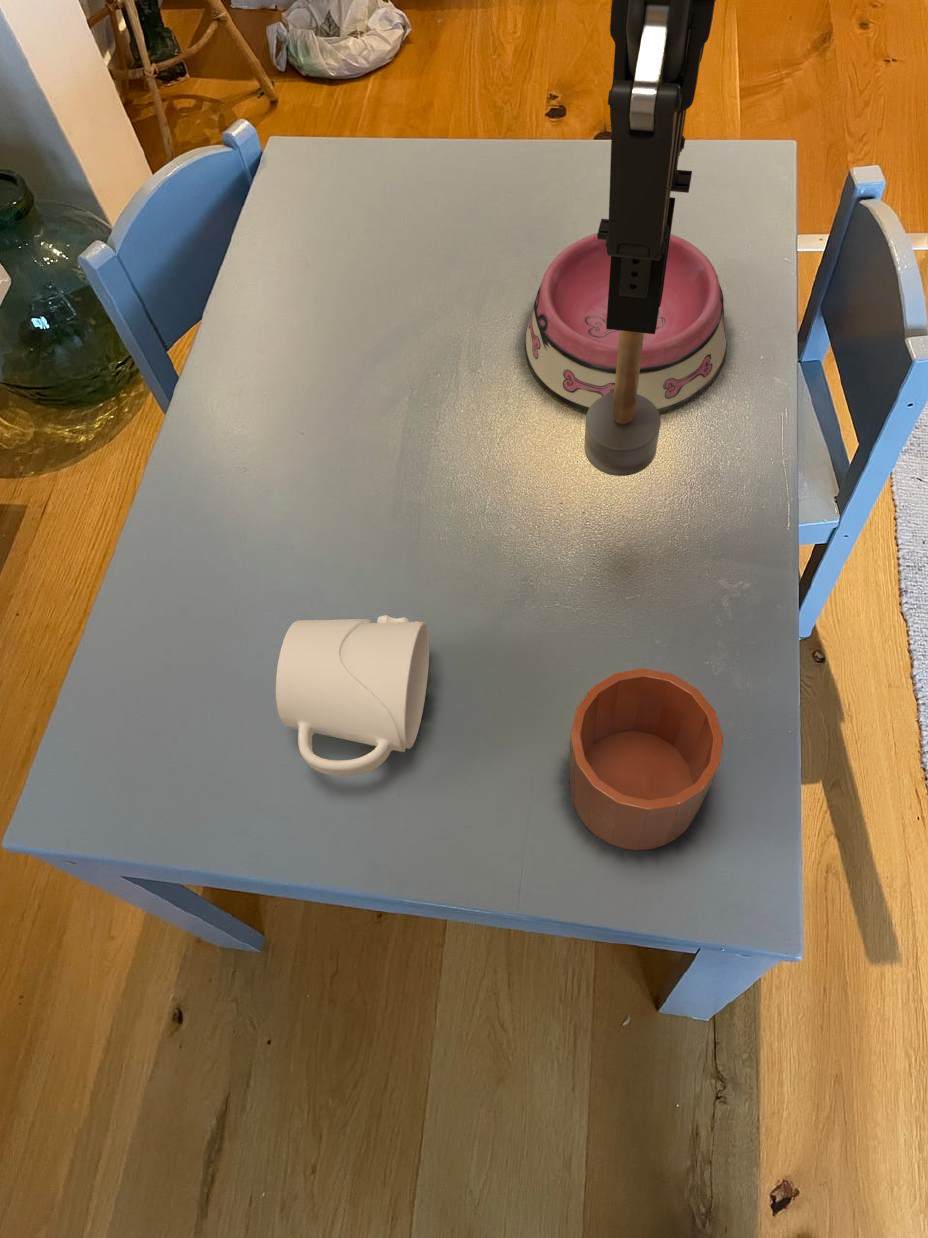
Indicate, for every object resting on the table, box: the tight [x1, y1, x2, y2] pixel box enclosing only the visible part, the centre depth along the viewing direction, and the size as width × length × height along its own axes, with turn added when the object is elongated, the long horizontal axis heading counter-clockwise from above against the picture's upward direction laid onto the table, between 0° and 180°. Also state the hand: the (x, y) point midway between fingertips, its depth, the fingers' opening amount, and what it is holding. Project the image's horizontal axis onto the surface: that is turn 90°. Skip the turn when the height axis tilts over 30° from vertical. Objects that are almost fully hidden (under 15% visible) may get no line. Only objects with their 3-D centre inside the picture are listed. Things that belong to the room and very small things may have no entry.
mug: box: [275, 614, 430, 777], centre depth 68 cm, size 12×9×8 cm
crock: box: [568, 667, 724, 851], centre depth 62 cm, size 9×9×10 cm
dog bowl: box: [523, 232, 728, 414], centre depth 83 cm, size 18×19×7 cm
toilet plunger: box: [583, 330, 662, 477], centre depth 53 cm, size 5×5×21 cm
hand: (634, 312), depth 52 cm, fingers closed on toilet plunger
